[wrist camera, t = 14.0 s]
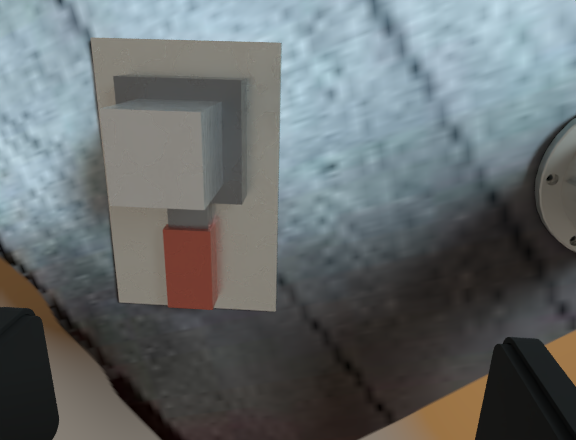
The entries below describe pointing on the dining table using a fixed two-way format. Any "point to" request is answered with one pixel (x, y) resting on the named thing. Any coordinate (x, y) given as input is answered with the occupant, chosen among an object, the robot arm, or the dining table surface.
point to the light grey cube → (163, 153)
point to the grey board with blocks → (236, 175)
